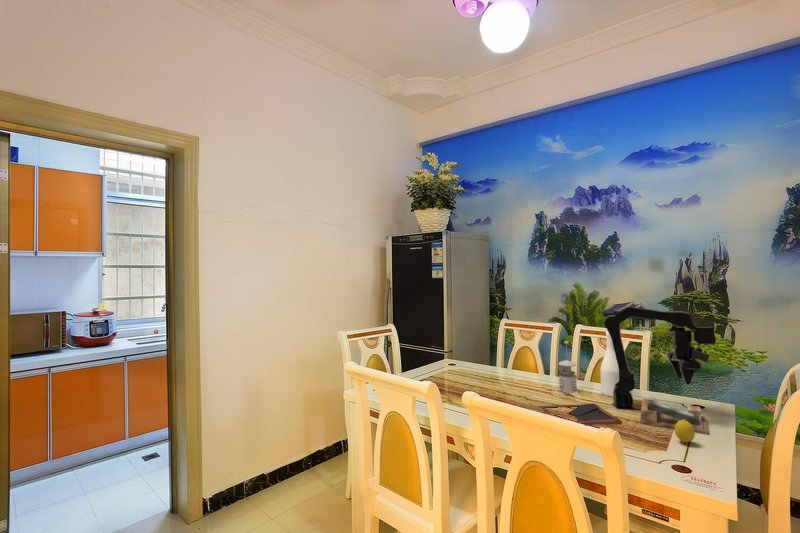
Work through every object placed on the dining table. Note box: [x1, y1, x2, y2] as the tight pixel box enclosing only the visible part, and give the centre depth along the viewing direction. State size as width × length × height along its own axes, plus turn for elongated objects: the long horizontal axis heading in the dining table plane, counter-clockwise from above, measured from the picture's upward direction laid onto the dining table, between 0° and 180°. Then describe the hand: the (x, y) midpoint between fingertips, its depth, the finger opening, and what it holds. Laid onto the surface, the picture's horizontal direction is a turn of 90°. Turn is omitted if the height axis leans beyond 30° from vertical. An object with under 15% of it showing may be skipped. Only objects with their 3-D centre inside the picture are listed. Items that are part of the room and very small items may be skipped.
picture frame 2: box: [648, 399, 699, 425], centre depth 151 cm, size 16×5×2 cm, turn 56°
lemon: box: [674, 419, 696, 444], centre depth 136 cm, size 6×6×8 cm
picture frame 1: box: [537, 403, 623, 426], centre depth 164 cm, size 20×2×25 cm
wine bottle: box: [600, 330, 619, 398], centre depth 189 cm, size 10×10×30 cm
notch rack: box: [639, 398, 709, 435], centre depth 155 cm, size 21×17×5 cm
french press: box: [558, 340, 579, 393], centre depth 196 cm, size 10×12×25 cm
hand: (683, 381), depth 161 cm, fingers open, 9 cm apart
